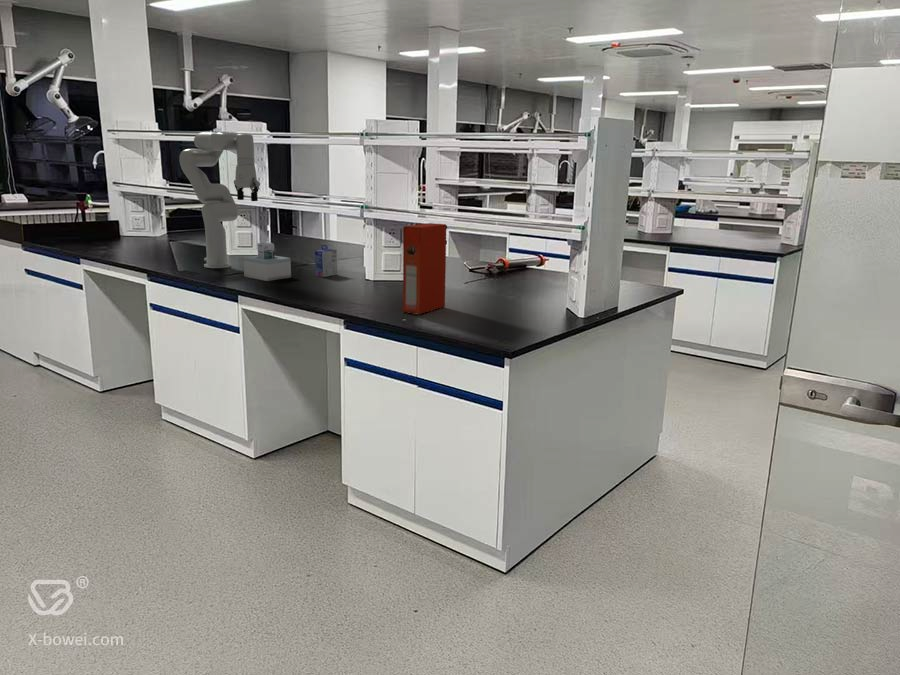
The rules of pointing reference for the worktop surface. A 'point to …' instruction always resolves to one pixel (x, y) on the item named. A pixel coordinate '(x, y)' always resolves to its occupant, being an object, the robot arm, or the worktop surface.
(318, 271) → the ink cartridge box
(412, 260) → the file binder
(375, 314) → the worktop surface
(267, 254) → the syrup box
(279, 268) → the drop box
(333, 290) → the worktop surface
